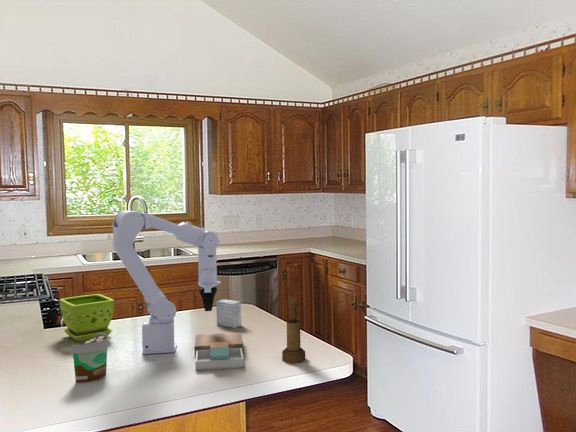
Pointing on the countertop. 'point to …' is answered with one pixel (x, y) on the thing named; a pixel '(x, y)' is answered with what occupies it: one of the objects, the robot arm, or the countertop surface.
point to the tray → (206, 364)
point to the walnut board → (218, 340)
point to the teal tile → (219, 353)
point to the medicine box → (228, 313)
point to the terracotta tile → (218, 344)
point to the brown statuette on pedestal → (293, 336)
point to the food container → (91, 358)
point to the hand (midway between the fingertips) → (208, 310)
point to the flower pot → (87, 315)
